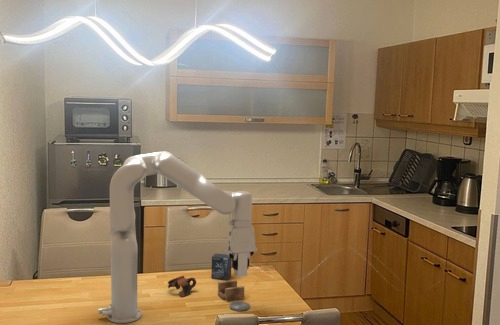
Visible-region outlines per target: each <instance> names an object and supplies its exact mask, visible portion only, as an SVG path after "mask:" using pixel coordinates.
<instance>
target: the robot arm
mask: <svg viewBox="0 0 500 325" xmlns="http://www.w3.org/2000/svg"><path fill="white" fill-rule="evenodd" d="M155 175H161V176H162V177H163V178H165V179H166V180H168V181H169V182H171V183H173V184H175V185H176V186H177V187H179V188H181V189H183V191H185V192H187V193H188V194H189V195H191V196H193V197H194V198H196V199H198V200H200V201H201V202H203V203H204V204H205V205H207V206H208V207H210V208H211V209H213V210H214V211H216V212H217V213H219V214H222V215H230V214H231V220H230V221H228V225H230V228H229V232H228V240H227V246H226V247H225V249H224V251H223V254H226V255H228V256H230V257H231V258H232V260H231V268H232V269H233V270H234V269H235V270H237V263H238V261H237V254H238V253H247V252H248V262H247V270H249V267H250V259H251V258H252V256H253V255H254V254H255V253H257V251H258V247H257V246H256V236H255V229H254V226H253V225H252V211H253V208H252V207H253V206H252V205H253V195H252V192H250V191H247V190H237V191H229V190H222V189H221V188H219V187H218V186H216V185H215V184H214V183H212V182H211V181H209V179H207V178H206V177H205V176H204V175H203V174H202V173H201V172H199V171H198V170H196V169H194V168H193V167H192V166H190V165H188V164H187V163H186V162H183V161H182V160H181V159H179V158H178V157H176V156H175V155H173V154H172V153H171V152H169V151H165V150H163V151H156V152H151V153H150V152H149V153H143V154H137V155H131V156H129V157H128V158H126V159H125V161H123V164H122V166H120V167H119V168H118V169H117V170H116V171H115V172H114V174H113V175H112V178H111V180H110V184H109V212H108V213H109V215H108V216H109V230H110V231H109V233H110V295H111V296H110V298H111V299H110V303H109V306H107V307H104V308H103V307H100V308H98V310H97V312H98V313H97V314H99V315H101V314H102V316H106V318H107V320H108V321H110V322H111V323H116V324H127V323H129V324H130V323H132V322H136V321H137V320H139V319H140V318H142V315H143V314H142V311H141V309H140V308H138V257H139V256H138V253H139V252H138V250H139V248H138V241H137V233H136V232H137V231H136V210H135V202H134V199H135V197H134V194H135V193H134V190H135V186H136V185H137V184H138V183H140V182H141V181H143V180H144V178H146V177H147V176H148V177H149V176H155Z"/></svg>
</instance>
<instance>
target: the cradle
mask: <svg viewBox="0 0 500 325" xmlns="http://www.w3.org/2000/svg"><path fill="white" fill-rule="evenodd" d="M217 290H218V291H217V296H218V297H219V298H220V299H221V300H222V301H225V302H231V301H232V302H233V301H239V300H244V299H245V286H244V285H239V286H238V280H236V279H231V280H229V279H228V280H222V281H218V282H217Z"/></svg>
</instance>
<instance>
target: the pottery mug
mask: <svg viewBox="0 0 500 325" xmlns="http://www.w3.org/2000/svg"><path fill="white" fill-rule="evenodd" d="M191 282H192V283H191ZM167 284H168V285H167V288H168V289H170V288H175V289H176V290H178V289H180V288H181V289H182V290H181V291H178V295H179V297H180V298H183V297H185V296H188V295H190V294H191V291H192V289H193V288H195V287H196V284H197V279H196V278H195V277H188V278H185V275H181V276H178V277H176V278H173V279H171V280H169V281H168V282H167Z"/></svg>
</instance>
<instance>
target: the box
mask: <svg viewBox="0 0 500 325" xmlns="http://www.w3.org/2000/svg"><path fill="white" fill-rule="evenodd" d="M231 277H232V258H231V257H230V256H228V255H227V254H225V253H217V252H216V253H215V254H213V255H212V256H211V279H214V280H222V281H229V279H230V278H231Z"/></svg>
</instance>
